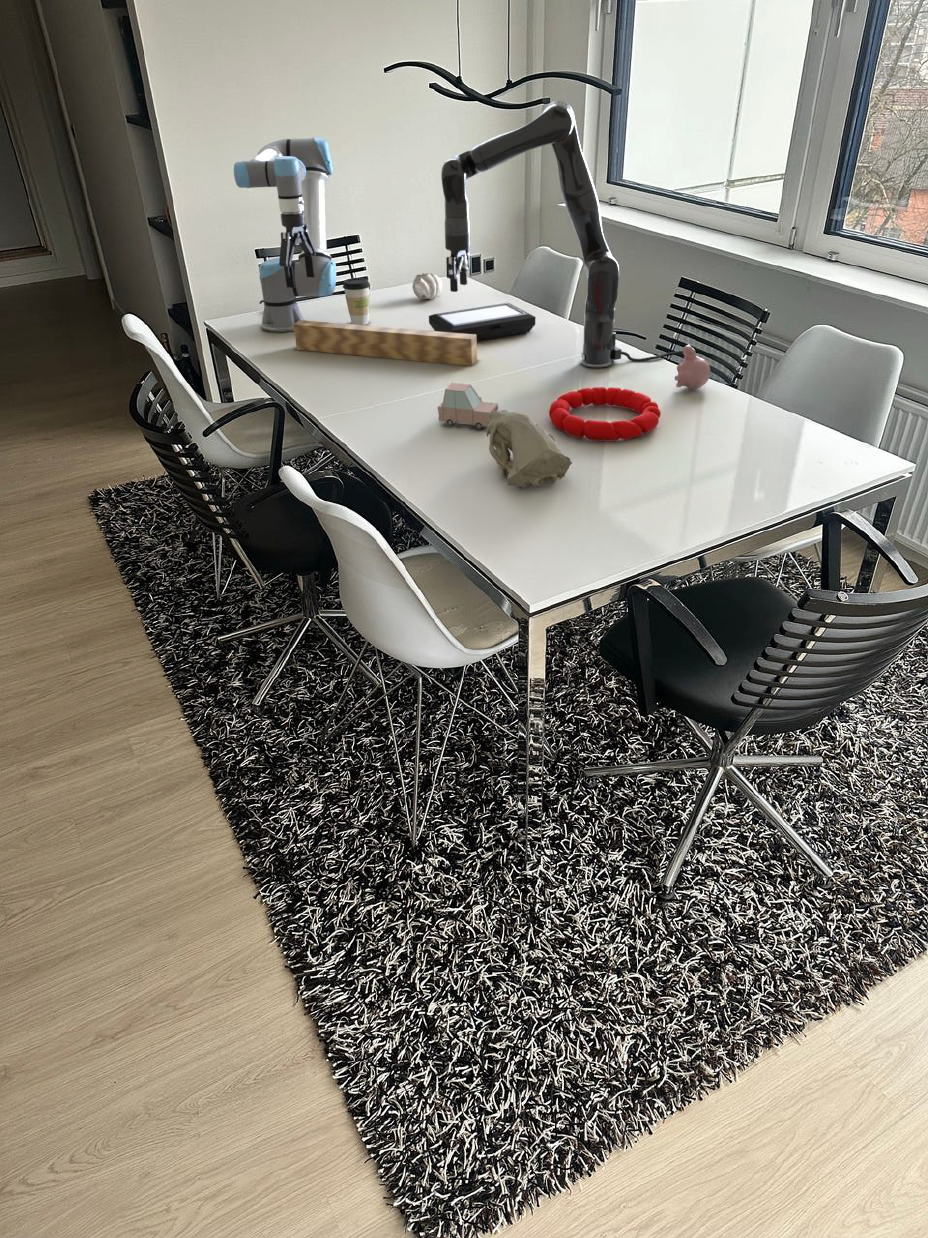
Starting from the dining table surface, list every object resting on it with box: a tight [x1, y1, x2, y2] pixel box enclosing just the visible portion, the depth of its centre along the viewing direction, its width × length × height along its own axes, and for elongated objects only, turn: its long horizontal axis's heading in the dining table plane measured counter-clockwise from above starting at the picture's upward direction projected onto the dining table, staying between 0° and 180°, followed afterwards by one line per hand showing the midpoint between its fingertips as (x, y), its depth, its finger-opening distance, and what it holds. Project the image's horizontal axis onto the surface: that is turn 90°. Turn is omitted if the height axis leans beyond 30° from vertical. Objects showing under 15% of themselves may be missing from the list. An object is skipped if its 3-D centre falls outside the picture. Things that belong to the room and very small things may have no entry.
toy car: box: [437, 382, 499, 431], centre depth 243 cm, size 9×15×10 cm, turn 70°
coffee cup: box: [342, 277, 371, 326], centre depth 323 cm, size 10×10×15 cm
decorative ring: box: [548, 386, 661, 442], centre depth 242 cm, size 7×30×30 cm
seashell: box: [411, 272, 443, 300], centre depth 348 cm, size 10×15×10 cm
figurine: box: [674, 344, 711, 390], centre depth 259 cm, size 9×11×12 cm
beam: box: [293, 319, 478, 367], centre depth 294 cm, size 64×5×9 cm, turn 70°
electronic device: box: [428, 302, 537, 341], centre depth 312 cm, size 32×6×20 cm
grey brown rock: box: [485, 409, 573, 489], centre depth 216 cm, size 17×25×20 cm
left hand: (301, 282), depth 292 cm, fingers open, 13 cm apart
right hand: (459, 287), depth 275 cm, fingers open, 8 cm apart
